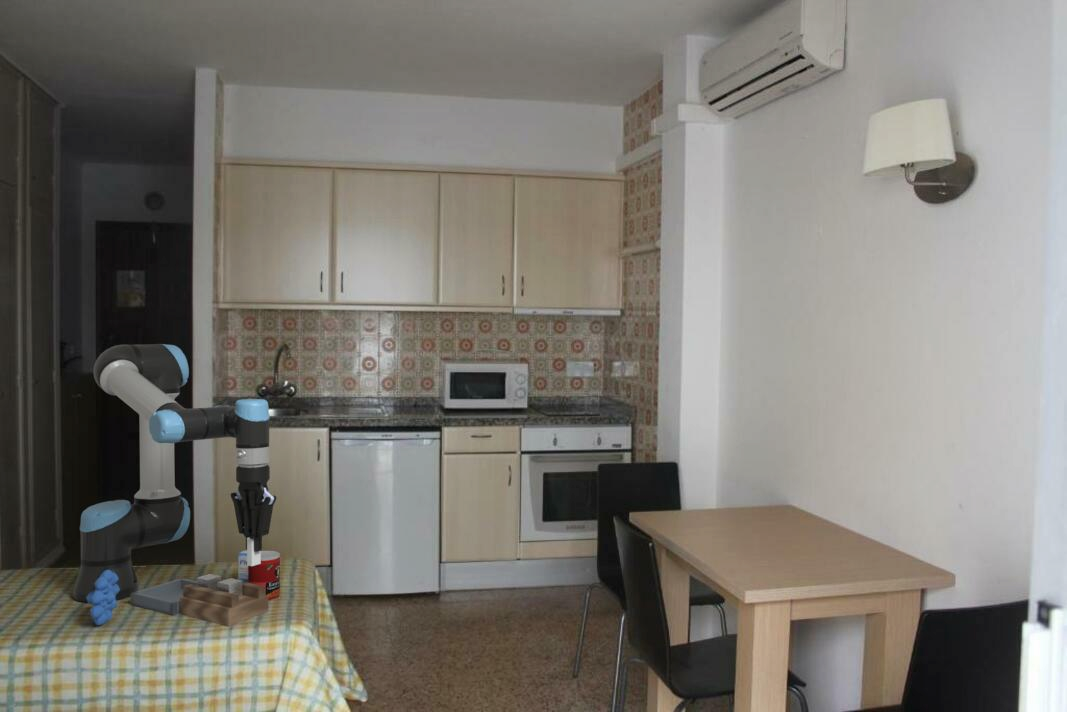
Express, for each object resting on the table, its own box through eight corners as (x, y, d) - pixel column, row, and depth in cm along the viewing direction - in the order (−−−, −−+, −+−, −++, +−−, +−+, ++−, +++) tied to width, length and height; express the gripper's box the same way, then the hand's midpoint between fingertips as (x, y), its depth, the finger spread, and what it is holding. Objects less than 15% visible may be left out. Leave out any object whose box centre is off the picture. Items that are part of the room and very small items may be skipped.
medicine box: (237, 584, 228) (237, 553, 228) (246, 580, 233) (246, 548, 232) (264, 587, 227) (264, 554, 226) (272, 582, 231) (272, 550, 231)
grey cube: (217, 598, 203) (217, 582, 203) (230, 594, 207) (230, 578, 207) (229, 601, 201) (228, 584, 201) (242, 596, 205) (242, 580, 205)
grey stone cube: (196, 594, 207) (196, 577, 207) (209, 589, 211) (209, 573, 210) (207, 596, 205) (207, 580, 205) (221, 592, 209) (220, 576, 208)
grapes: (97, 614, 204) (96, 564, 204) (126, 613, 204) (125, 564, 204) (74, 631, 192) (73, 578, 192) (105, 630, 193) (104, 578, 192)
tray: (130, 604, 211) (130, 592, 211) (182, 589, 224) (182, 577, 224) (173, 615, 203) (173, 603, 203) (223, 598, 216) (223, 587, 216)
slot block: (179, 614, 204) (179, 587, 204) (220, 600, 215) (220, 575, 214) (228, 626, 196) (228, 598, 196) (268, 611, 206) (268, 585, 206)
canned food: (271, 602, 214) (270, 559, 213) (242, 600, 215) (242, 557, 215) (285, 593, 221) (285, 551, 221) (257, 591, 223) (257, 549, 222)
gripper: (220, 465, 199) (222, 564, 200) (260, 468, 193) (261, 571, 193) (246, 461, 206) (247, 557, 206) (284, 464, 199) (285, 564, 200)
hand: (254, 564), depth 200 cm, fingers closed
